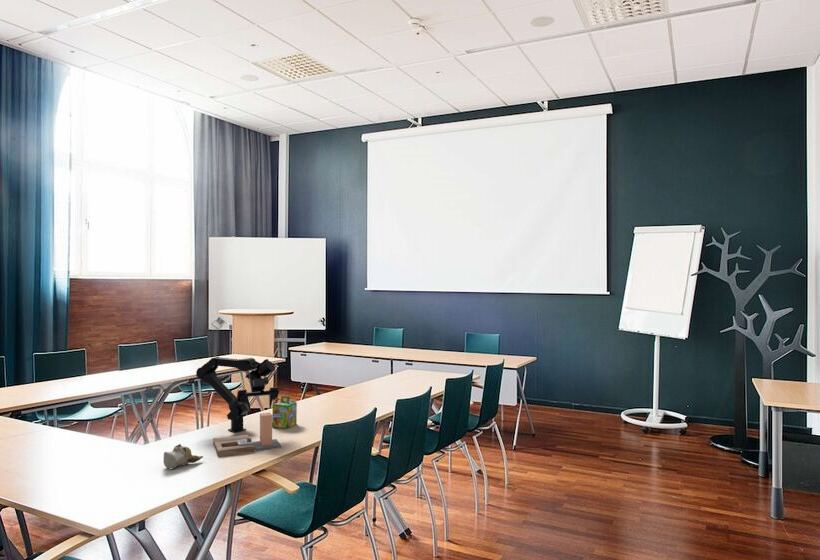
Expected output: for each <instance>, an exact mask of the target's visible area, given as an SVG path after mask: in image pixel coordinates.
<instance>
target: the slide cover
mask: <svg viewBox="0 0 820 560" xmlns="http://www.w3.org/2000/svg"><path fill="white" fill-rule="evenodd" d="M252 440H253V439H252V438H251V437H249V438H247V439H241V440H236V442H237V444H238V446H242V445H250V444H253V442H254V441H252Z"/></svg>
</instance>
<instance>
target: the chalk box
mask: <svg viewBox="0 0 820 560" xmlns="http://www.w3.org/2000/svg"><path fill="white" fill-rule="evenodd" d="M290 397H291V396H289V395H282V396H281V397H280V401H278V402H276V403H273V404H272V408H271V409H272V412H271V414H272V428H279V429H287V430H288V429H290V428H292V427H294V426H296V425H297V422H298V421H297V418H298V417H297V414H298V411H297V409H298V407H297V404H298V403H297V402H296V401H290V400H291V398H290ZM284 399H286V400H284Z"/></svg>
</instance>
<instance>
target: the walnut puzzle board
mask: <svg viewBox="0 0 820 560" xmlns="http://www.w3.org/2000/svg"><path fill="white" fill-rule="evenodd" d="M247 438H250V436H249V435H248V434H243V435H242V434H241V435H233V436H225V437H224V436H223V437H217V438H216V437H215V438H213V439H212V444H213V447H214V451H215V453H216V455H217V457H219V458H220V457H226V456H227V457H228V456H235V455H242V454H243V455H244V454H249V453H255V452H256V451H255V446H254V444H250V445H242V446H238V444H237V442H236V440H241V439H247Z"/></svg>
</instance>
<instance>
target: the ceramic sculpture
mask: <svg viewBox="0 0 820 560" xmlns="http://www.w3.org/2000/svg"><path fill="white" fill-rule="evenodd" d="M203 457H204V455H202V456H199V455H194V454H192V450H191V448H190V447H188V446H185V445H183V446H182V445H181V443H180V444H179V443H178V444H177V445H175V446H174V447H173V449H172V451H164V453H163V461H162V462H163V465H164V466H165V468H166V469H168V468H172V469H171V470H174V469H175V468H177V466H178V465H181V466H185V465H187V464H191V463H193V464H194V463H196V462H198V461H200V460H202V458H203ZM184 464H185V465H184Z"/></svg>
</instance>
